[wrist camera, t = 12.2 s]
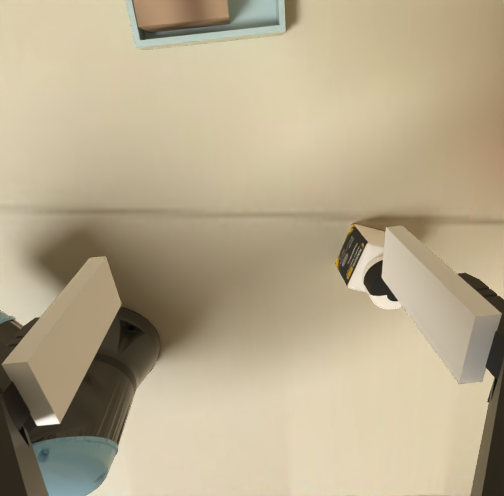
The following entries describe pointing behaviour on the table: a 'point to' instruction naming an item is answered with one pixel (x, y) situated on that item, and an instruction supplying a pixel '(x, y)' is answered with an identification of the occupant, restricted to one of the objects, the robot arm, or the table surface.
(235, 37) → the light blue tray
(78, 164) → the table surface
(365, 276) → the medicine bottle
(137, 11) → the walnut block
